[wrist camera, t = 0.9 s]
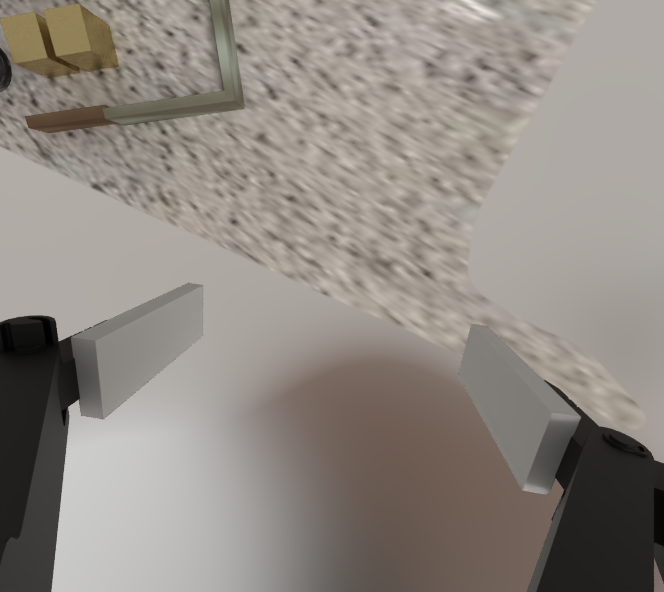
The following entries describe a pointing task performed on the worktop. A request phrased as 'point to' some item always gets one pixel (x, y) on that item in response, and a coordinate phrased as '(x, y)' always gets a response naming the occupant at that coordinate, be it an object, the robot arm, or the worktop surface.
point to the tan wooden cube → (34, 45)
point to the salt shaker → (4, 71)
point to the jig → (167, 107)
